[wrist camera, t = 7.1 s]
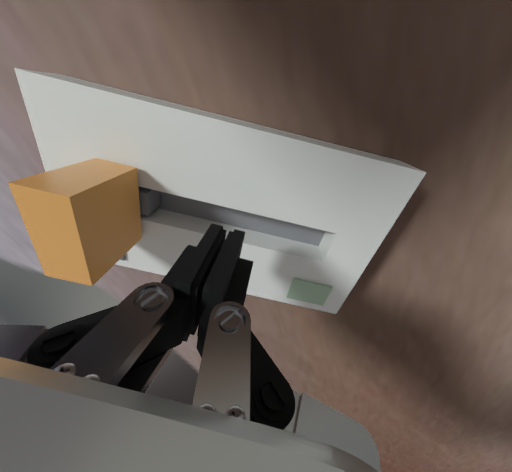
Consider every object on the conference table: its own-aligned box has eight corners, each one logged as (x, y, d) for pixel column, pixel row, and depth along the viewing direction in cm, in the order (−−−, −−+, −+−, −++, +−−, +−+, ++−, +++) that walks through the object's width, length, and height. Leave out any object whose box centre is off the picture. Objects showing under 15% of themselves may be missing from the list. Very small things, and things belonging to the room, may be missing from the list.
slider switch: (400, 160, 14) (428, 173, 11) (328, 288, 20) (336, 316, 18) (64, 75, 13) (9, 67, 11) (97, 234, 20) (68, 255, 17)
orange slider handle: (159, 160, 15) (76, 198, 9) (160, 224, 17) (98, 287, 11) (115, 149, 14) (0, 180, 8) (123, 215, 17) (39, 274, 11)
